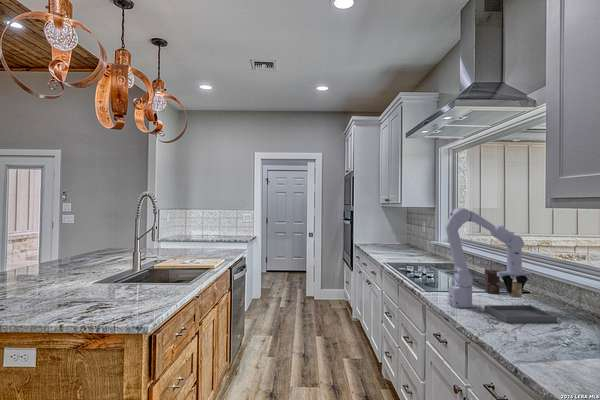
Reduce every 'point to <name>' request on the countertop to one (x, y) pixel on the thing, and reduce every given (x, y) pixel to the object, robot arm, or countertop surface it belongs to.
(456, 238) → the robot arm
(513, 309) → the tray
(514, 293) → the maple block
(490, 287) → the box
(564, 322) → the countertop surface
